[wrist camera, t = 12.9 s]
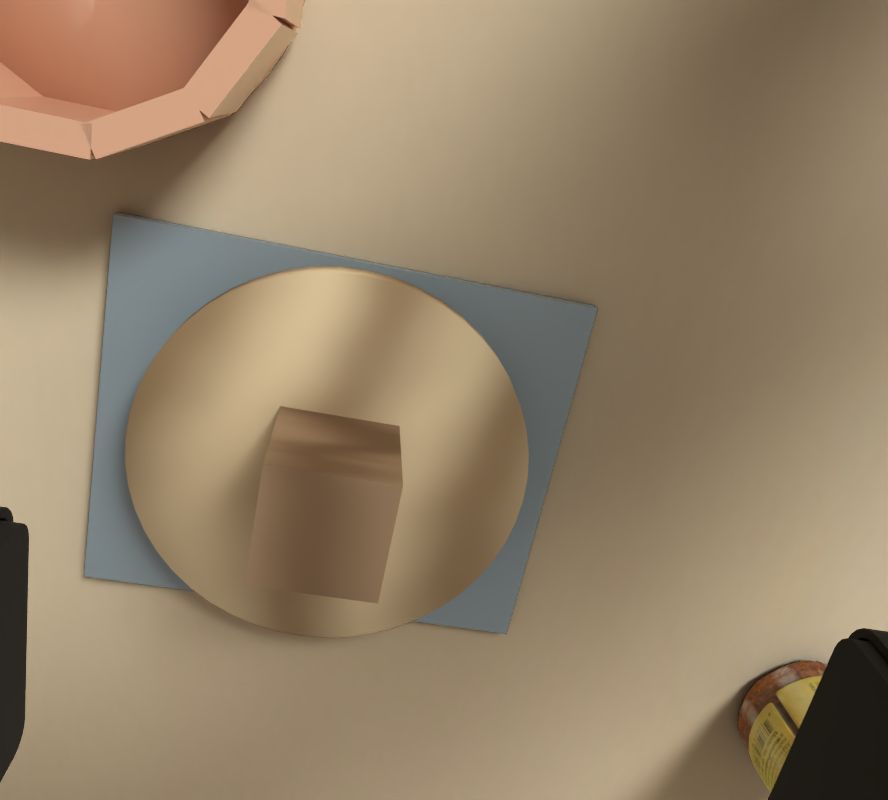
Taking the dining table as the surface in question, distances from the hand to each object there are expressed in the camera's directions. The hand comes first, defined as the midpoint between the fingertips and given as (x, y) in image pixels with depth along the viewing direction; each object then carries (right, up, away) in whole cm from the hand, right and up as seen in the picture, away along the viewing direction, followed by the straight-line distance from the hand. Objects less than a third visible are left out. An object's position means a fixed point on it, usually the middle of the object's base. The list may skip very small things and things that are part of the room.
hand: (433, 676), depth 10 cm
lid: (-4, +1, +24) cm, 25 cm away
